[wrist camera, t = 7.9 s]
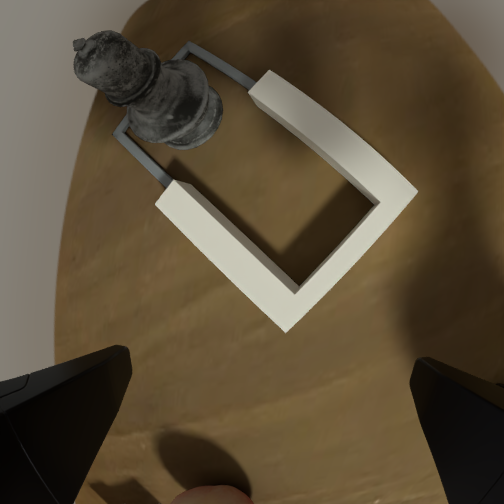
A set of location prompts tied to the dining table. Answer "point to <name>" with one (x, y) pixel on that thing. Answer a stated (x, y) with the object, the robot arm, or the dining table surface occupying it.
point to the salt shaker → (150, 90)
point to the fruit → (212, 496)
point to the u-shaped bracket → (247, 253)
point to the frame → (182, 54)
